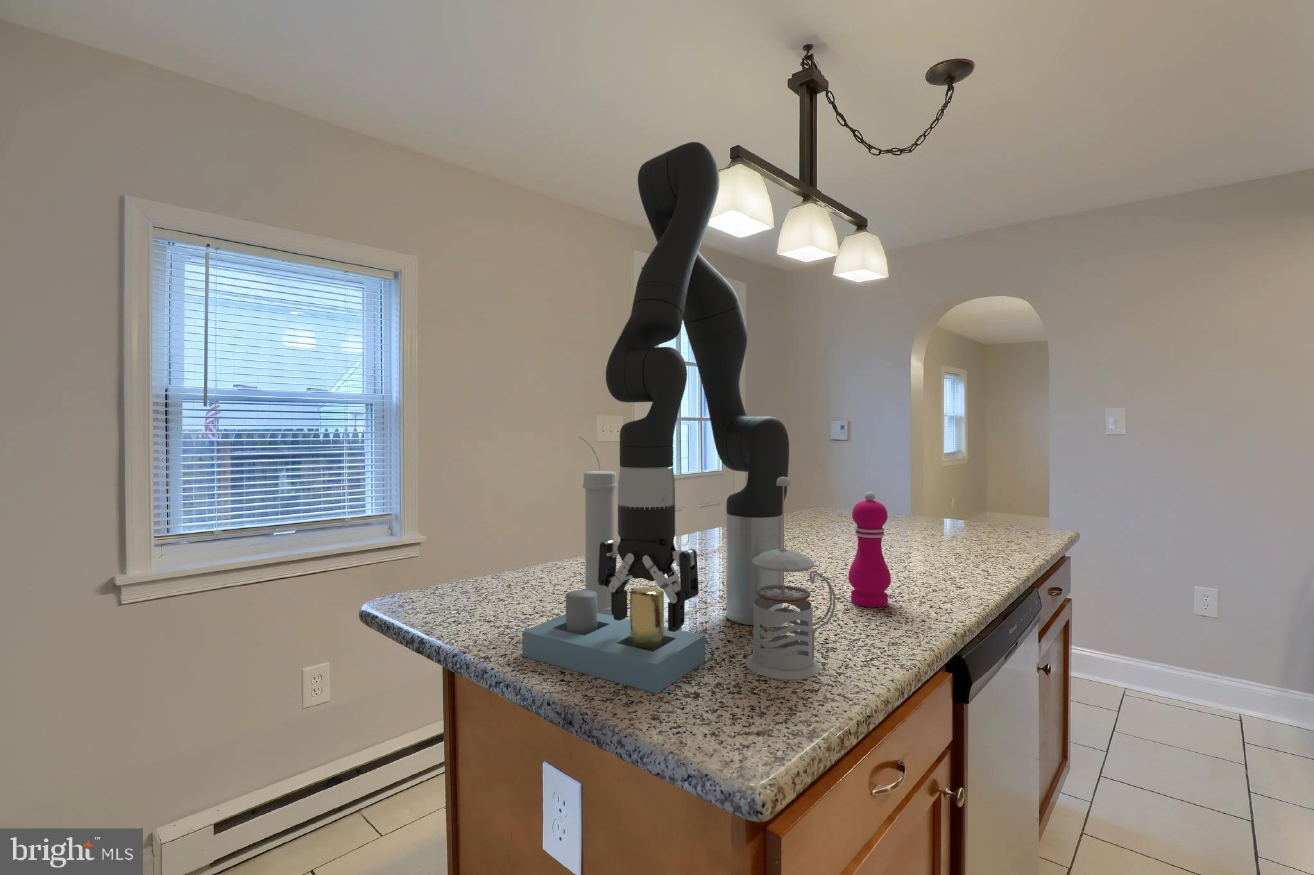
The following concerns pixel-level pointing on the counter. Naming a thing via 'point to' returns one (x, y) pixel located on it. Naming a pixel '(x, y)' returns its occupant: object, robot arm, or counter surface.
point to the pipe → (598, 528)
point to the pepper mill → (869, 555)
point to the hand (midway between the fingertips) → (646, 624)
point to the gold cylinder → (647, 618)
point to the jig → (610, 647)
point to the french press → (785, 617)
